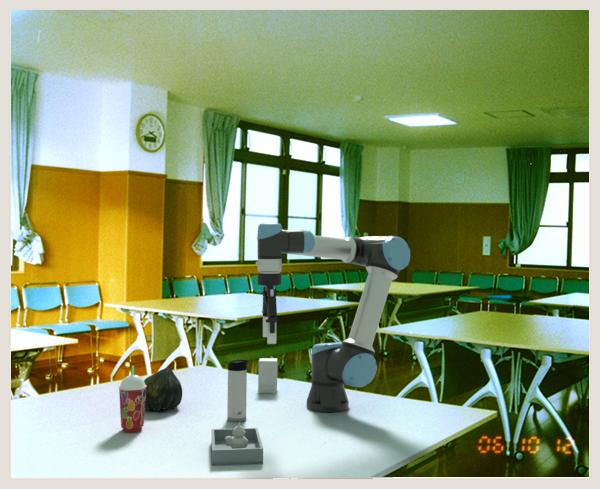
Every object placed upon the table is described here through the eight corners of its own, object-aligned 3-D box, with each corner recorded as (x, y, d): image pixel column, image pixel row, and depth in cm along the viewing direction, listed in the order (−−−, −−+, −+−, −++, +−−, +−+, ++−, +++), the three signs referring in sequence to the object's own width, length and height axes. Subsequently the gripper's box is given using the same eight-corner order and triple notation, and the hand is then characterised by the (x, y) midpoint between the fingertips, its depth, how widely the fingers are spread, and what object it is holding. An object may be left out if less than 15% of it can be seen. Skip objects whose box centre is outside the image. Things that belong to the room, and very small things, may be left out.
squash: (124, 394, 225) (149, 364, 221) (150, 387, 238) (174, 359, 235) (149, 425, 220) (175, 395, 217) (173, 416, 234) (198, 388, 231)
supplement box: (276, 393, 253) (276, 361, 253) (257, 393, 253) (258, 361, 253) (277, 389, 260) (277, 357, 260) (259, 389, 260) (259, 357, 260)
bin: (257, 441, 191) (257, 427, 191) (263, 463, 172) (263, 448, 172) (211, 442, 189) (211, 429, 189) (212, 465, 170) (212, 450, 170)
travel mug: (244, 422, 211) (244, 361, 211) (224, 421, 212) (225, 360, 212) (249, 417, 217) (250, 358, 217) (230, 416, 218) (231, 357, 218)
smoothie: (151, 428, 204) (152, 364, 204) (136, 435, 196) (137, 369, 196) (128, 425, 206) (129, 362, 206) (112, 432, 198) (113, 367, 198)
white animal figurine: (248, 453, 178) (248, 424, 178) (224, 453, 178) (224, 424, 178) (248, 447, 184) (248, 418, 184) (224, 447, 183) (225, 419, 183)
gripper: (254, 270, 214) (254, 334, 214) (261, 274, 190) (261, 347, 190) (276, 270, 215) (276, 334, 216) (286, 274, 191) (286, 346, 191)
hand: (269, 340), depth 203 cm, fingers open, 13 cm apart
